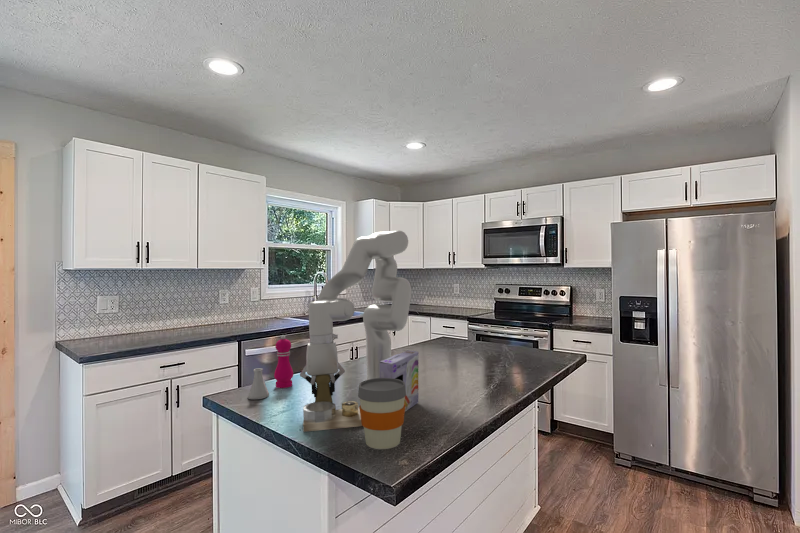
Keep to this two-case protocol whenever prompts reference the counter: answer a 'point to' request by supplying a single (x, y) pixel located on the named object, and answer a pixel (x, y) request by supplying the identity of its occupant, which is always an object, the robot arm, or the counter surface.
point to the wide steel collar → (319, 412)
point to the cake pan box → (403, 374)
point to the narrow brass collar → (349, 409)
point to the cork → (323, 388)
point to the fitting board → (334, 422)
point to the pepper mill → (283, 364)
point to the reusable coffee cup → (382, 411)
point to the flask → (258, 386)
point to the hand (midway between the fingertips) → (323, 394)
